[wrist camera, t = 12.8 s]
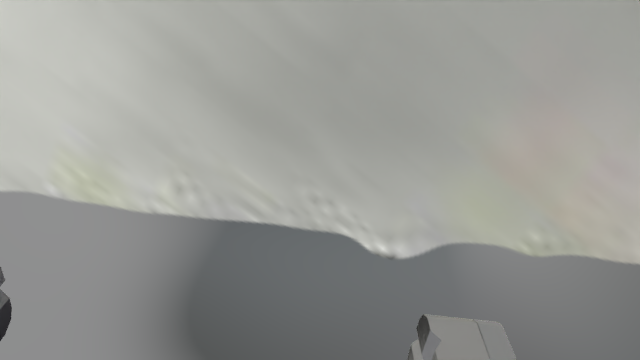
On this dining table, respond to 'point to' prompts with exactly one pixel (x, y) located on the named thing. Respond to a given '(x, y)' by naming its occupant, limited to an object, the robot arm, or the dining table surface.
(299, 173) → the dining table surface
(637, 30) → the dining table surface
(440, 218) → the dining table surface
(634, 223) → the dining table surface
